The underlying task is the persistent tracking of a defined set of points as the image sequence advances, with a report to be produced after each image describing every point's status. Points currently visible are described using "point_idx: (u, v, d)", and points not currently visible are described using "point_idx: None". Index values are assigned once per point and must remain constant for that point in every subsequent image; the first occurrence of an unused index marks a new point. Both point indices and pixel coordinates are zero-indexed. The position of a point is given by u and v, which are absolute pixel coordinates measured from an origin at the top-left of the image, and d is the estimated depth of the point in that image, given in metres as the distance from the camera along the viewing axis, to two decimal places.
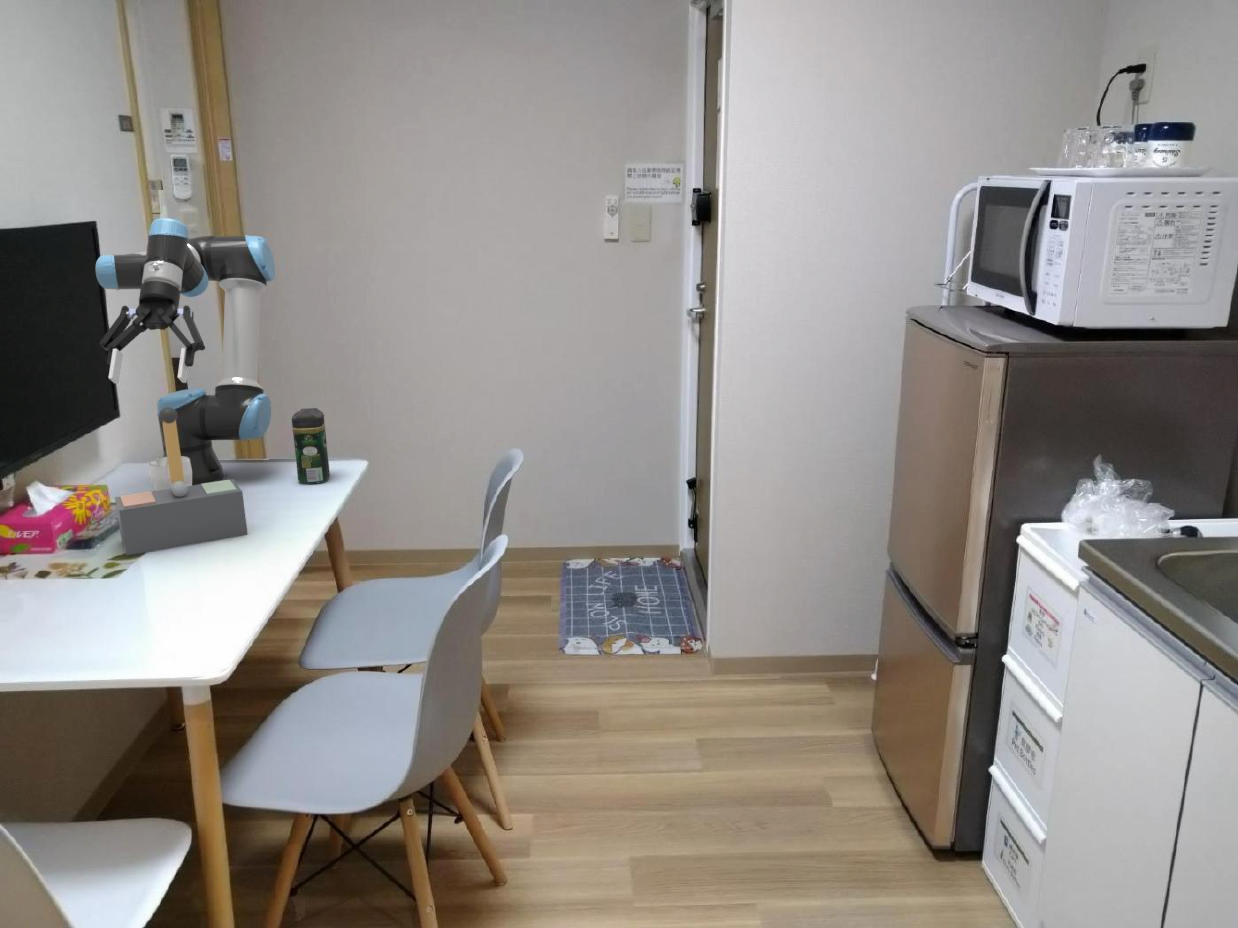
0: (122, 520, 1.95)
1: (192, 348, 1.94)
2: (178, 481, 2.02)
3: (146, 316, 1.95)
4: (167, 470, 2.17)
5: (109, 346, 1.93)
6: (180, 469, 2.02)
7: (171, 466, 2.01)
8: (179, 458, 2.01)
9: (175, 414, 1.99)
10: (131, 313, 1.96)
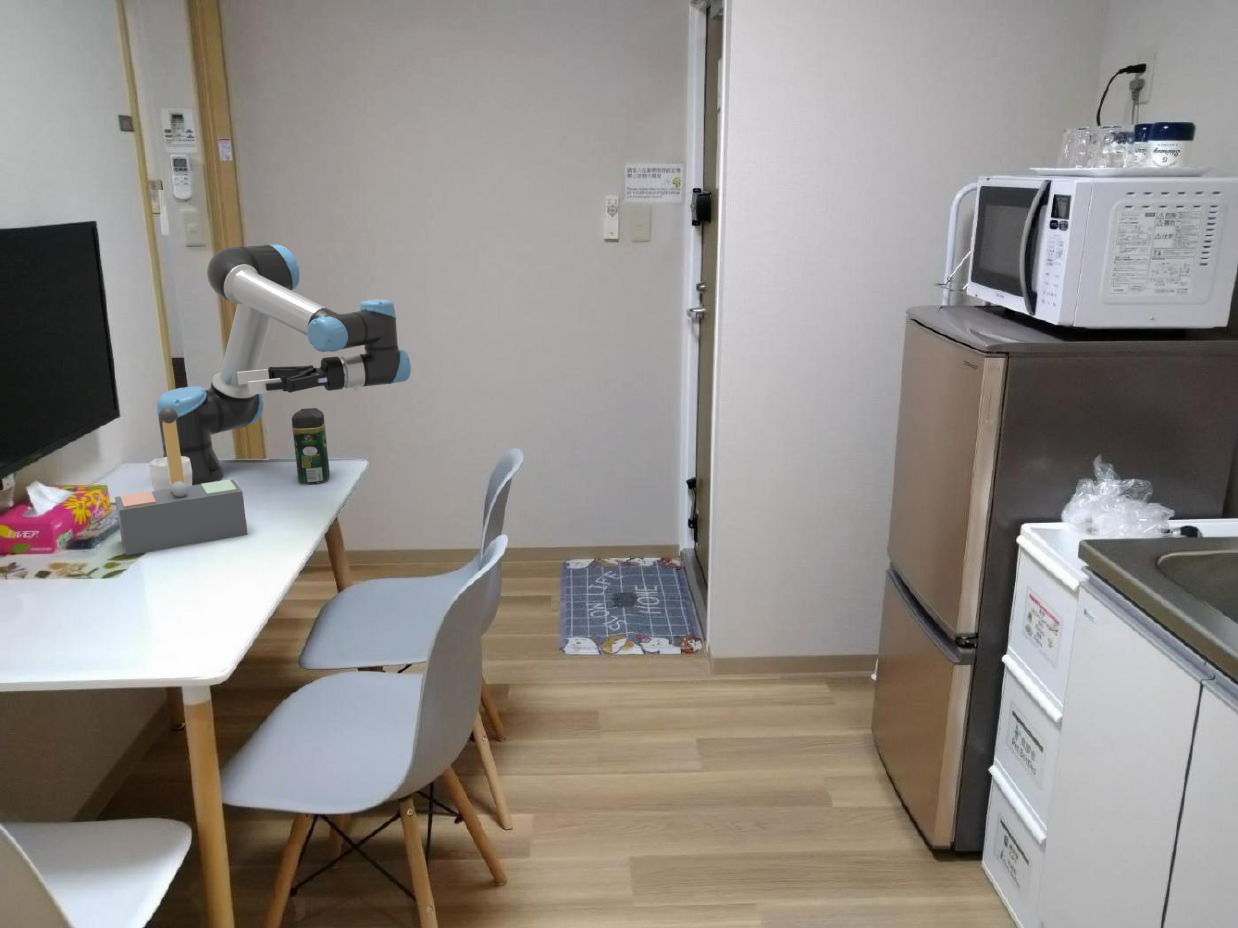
0: (122, 520, 1.95)
1: None
2: (178, 481, 2.02)
3: None
4: (167, 470, 2.17)
5: (285, 391, 2.03)
6: (180, 469, 2.02)
7: (171, 466, 2.01)
8: (179, 458, 2.01)
9: (175, 414, 1.99)
10: None
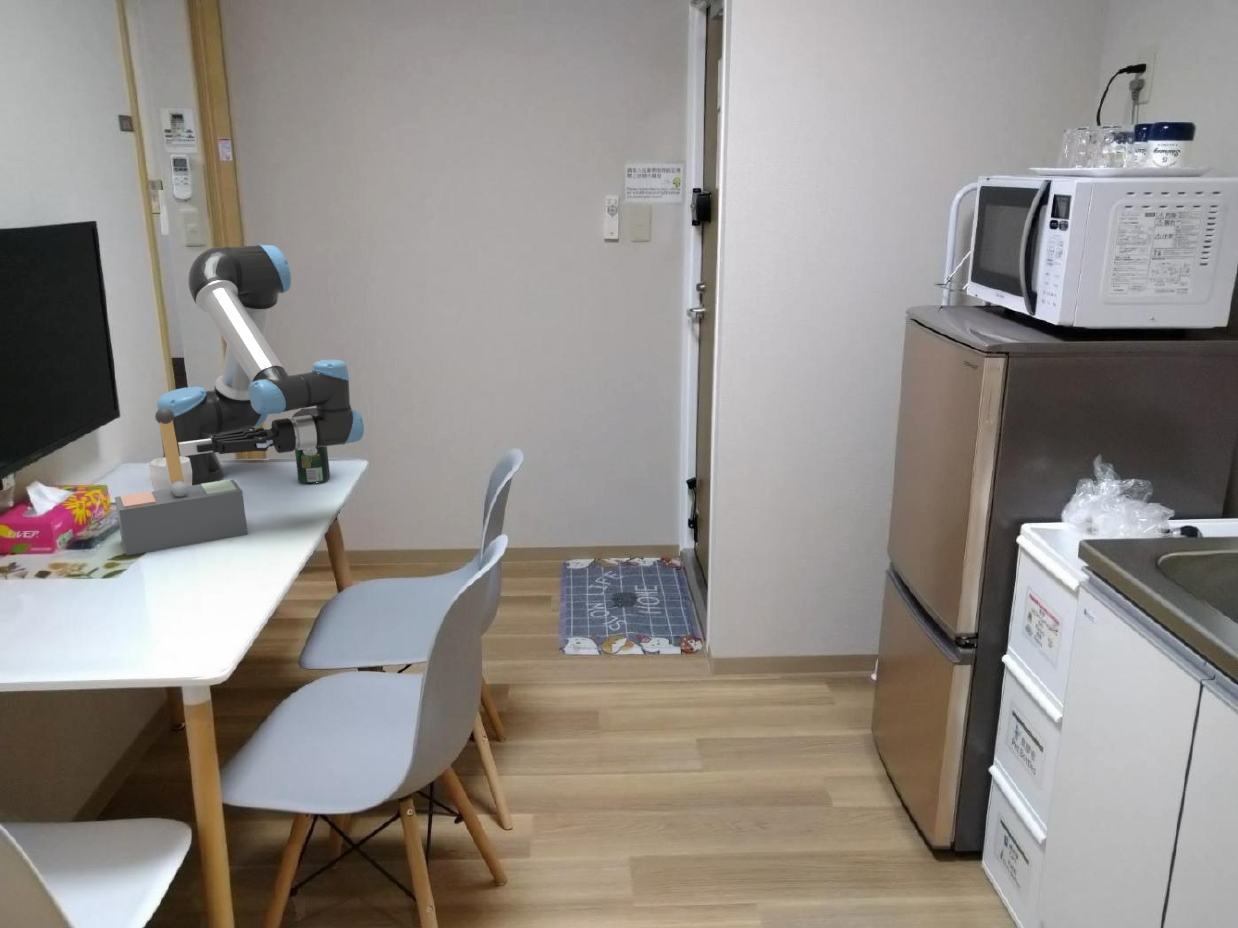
0: (122, 520, 1.95)
1: None
2: (178, 481, 2.02)
3: None
4: (167, 470, 2.17)
5: None
6: (179, 469, 2.02)
7: (170, 466, 2.00)
8: (178, 458, 2.01)
9: (171, 414, 1.98)
10: None
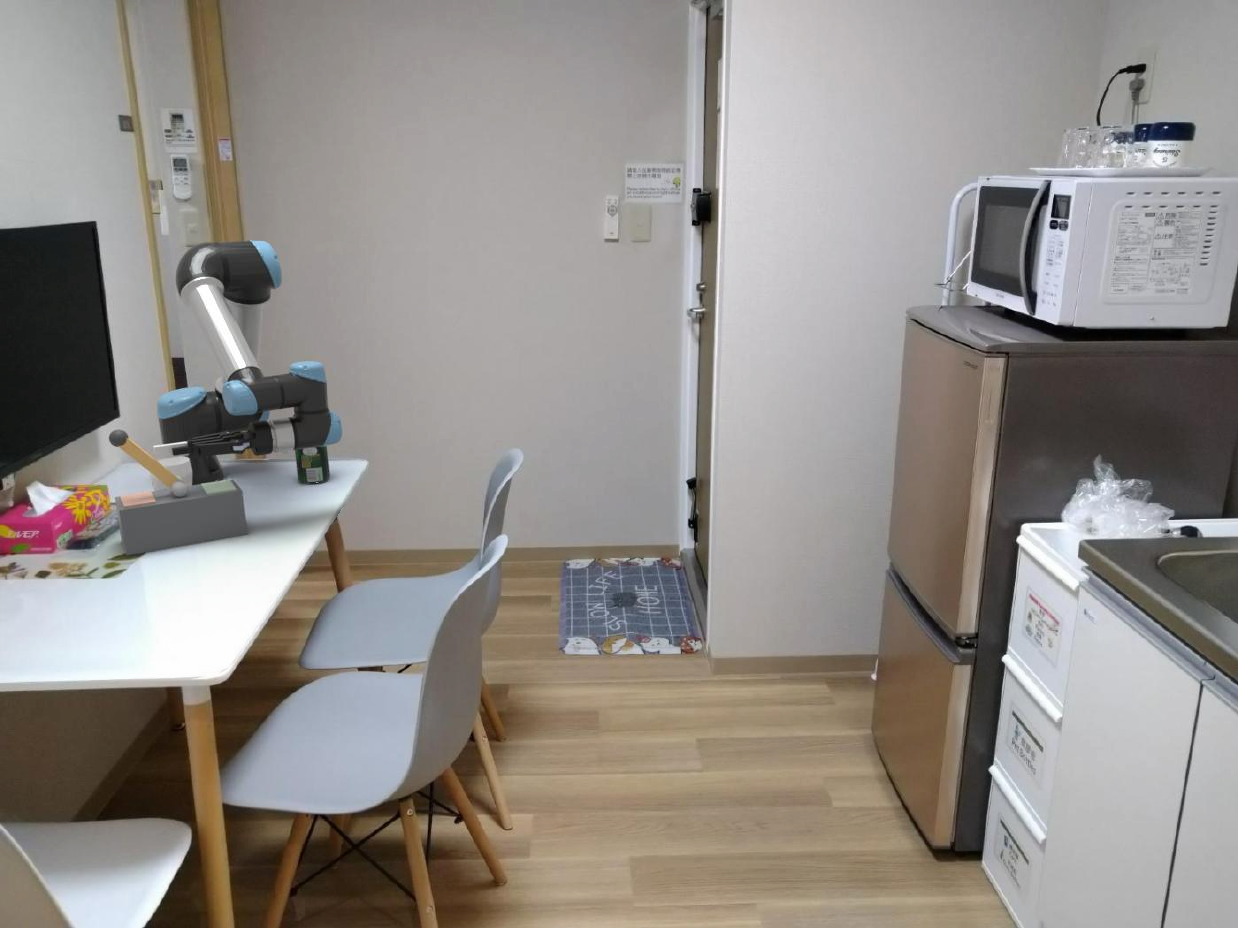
0: (122, 520, 1.95)
1: None
2: (173, 483, 2.01)
3: None
4: None
5: None
6: (167, 473, 2.00)
7: (157, 475, 2.00)
8: (158, 465, 1.99)
9: (122, 433, 1.94)
10: None
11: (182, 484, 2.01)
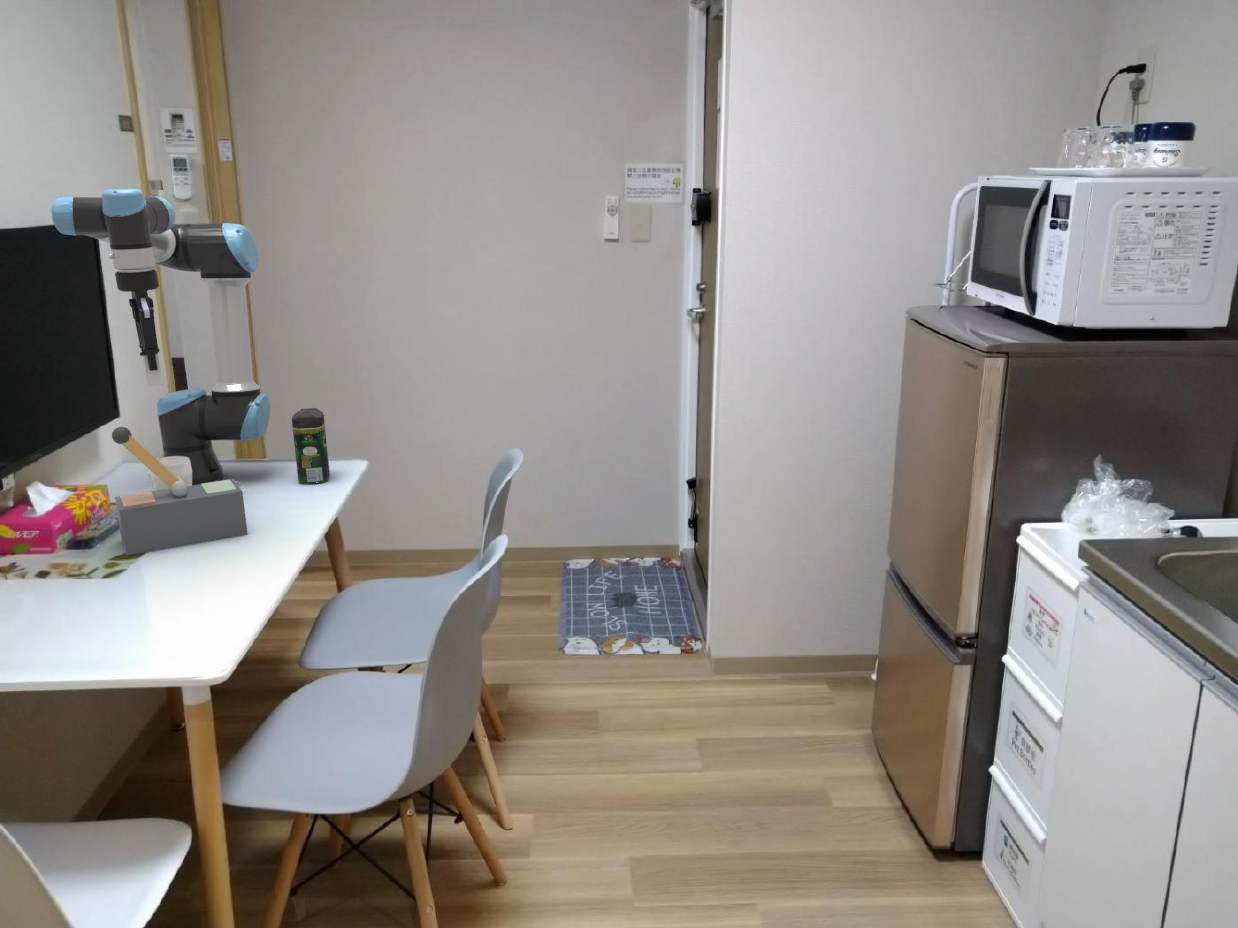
0: (122, 520, 1.95)
1: (147, 355, 1.93)
2: (174, 483, 2.01)
3: None
4: None
5: (142, 351, 1.95)
6: (168, 472, 2.00)
7: (158, 474, 2.00)
8: (159, 464, 1.99)
9: (125, 431, 1.94)
10: None
11: (182, 484, 2.01)
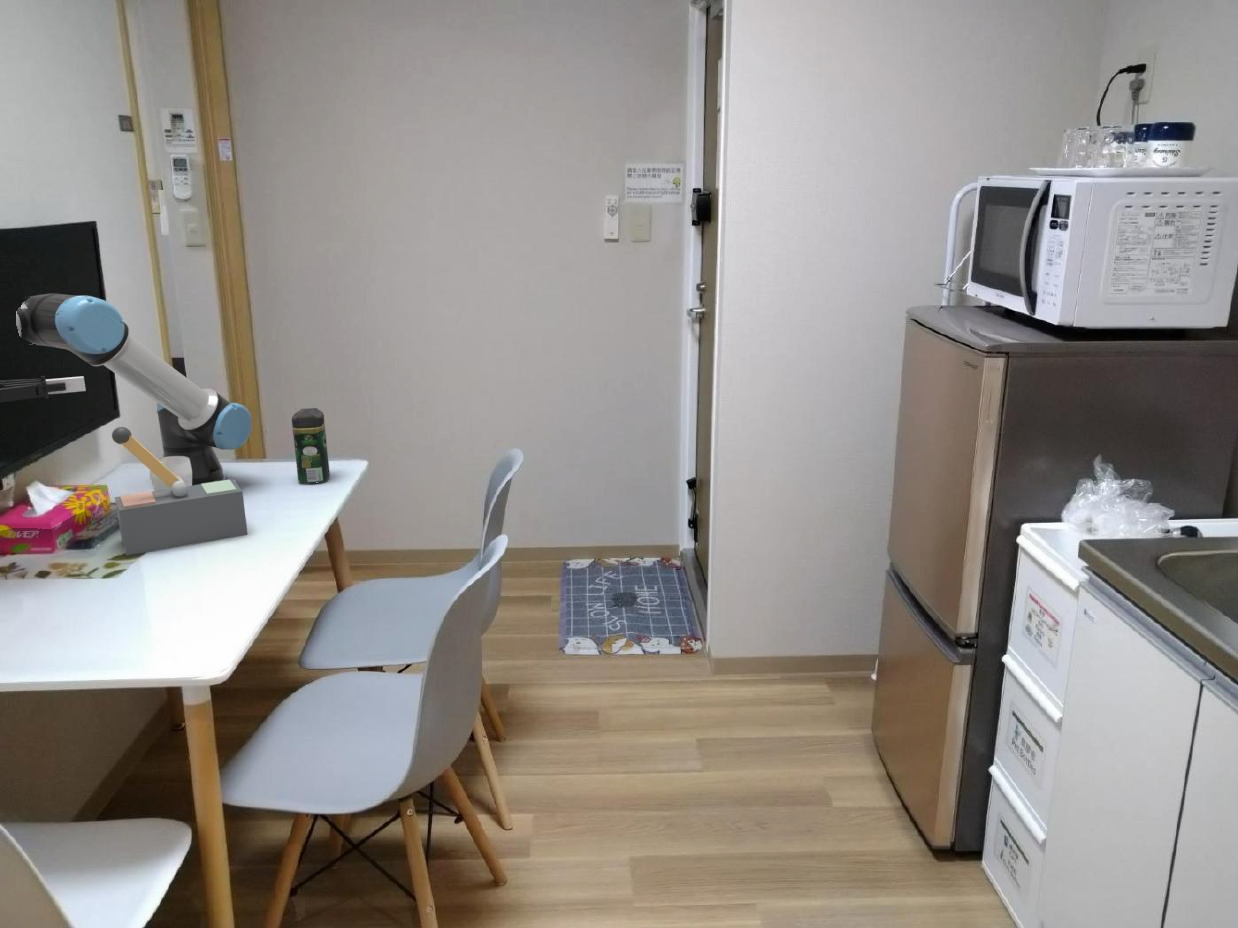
0: (122, 520, 1.95)
1: (47, 391, 1.85)
2: (174, 483, 2.01)
3: None
4: None
5: None
6: (168, 472, 2.00)
7: (158, 474, 2.00)
8: (159, 464, 1.99)
9: (125, 431, 1.94)
10: None
11: (182, 484, 2.01)
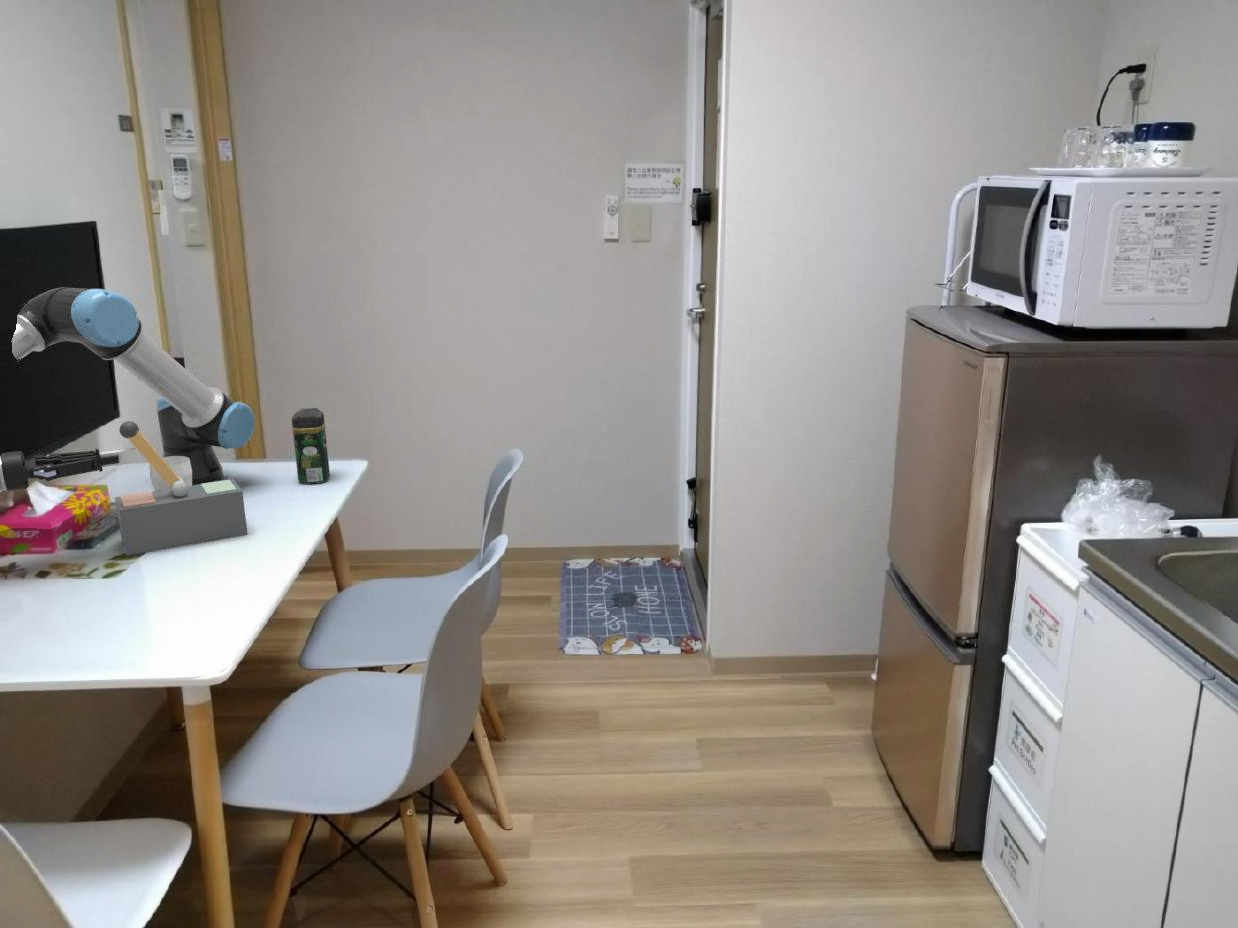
0: (122, 520, 1.95)
1: (102, 464, 1.92)
2: (174, 482, 2.01)
3: None
4: None
5: None
6: (170, 471, 2.01)
7: (160, 472, 2.00)
8: (163, 462, 2.00)
9: (134, 425, 1.95)
10: None
11: (183, 484, 2.01)
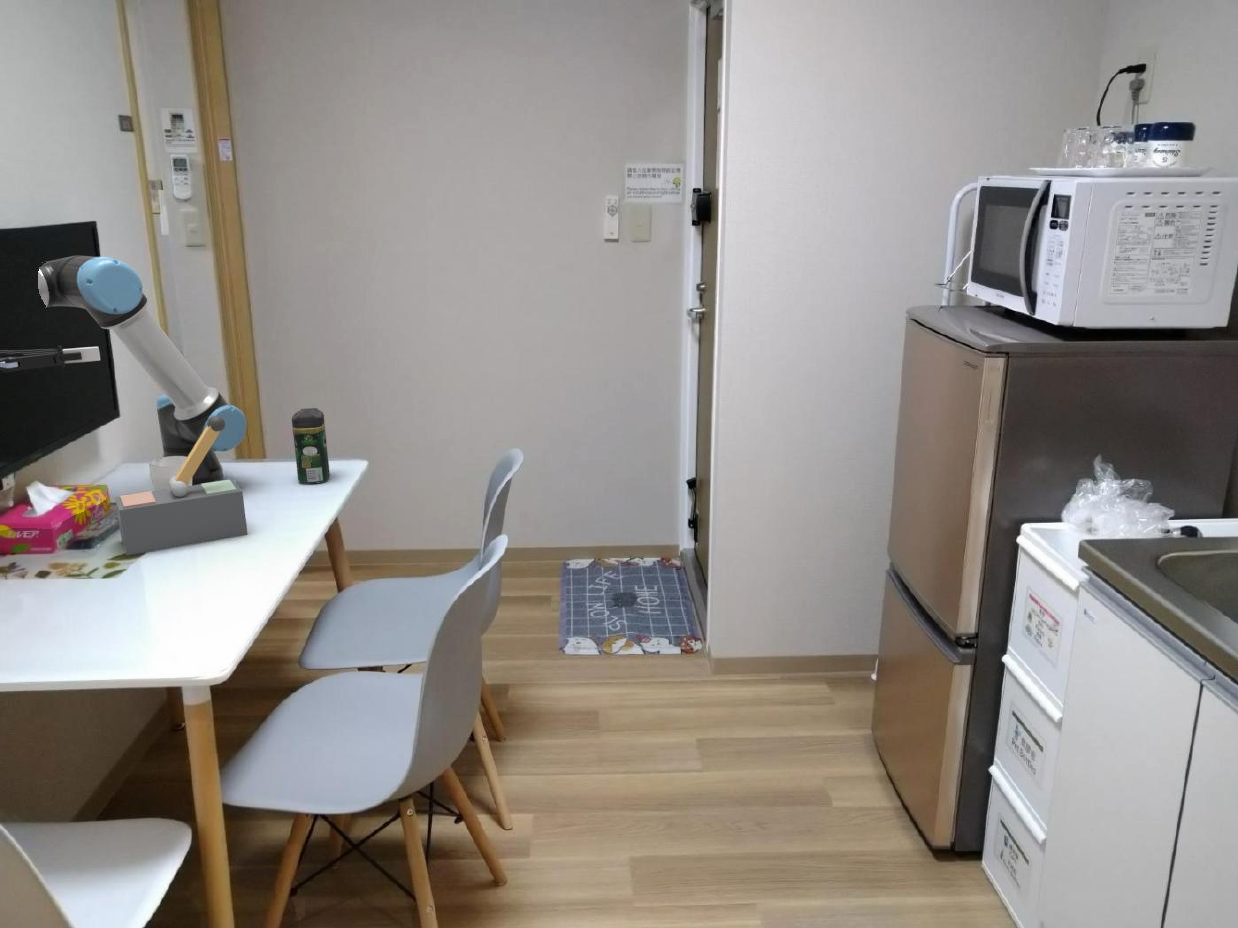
0: (122, 520, 1.95)
1: (64, 360, 1.94)
2: (183, 482, 2.02)
3: None
4: (167, 470, 2.17)
5: None
6: (192, 473, 2.03)
7: (187, 466, 2.02)
8: (198, 463, 2.03)
9: (223, 426, 2.04)
10: None
11: (186, 490, 2.02)
